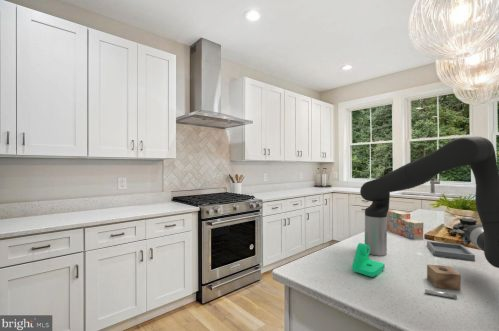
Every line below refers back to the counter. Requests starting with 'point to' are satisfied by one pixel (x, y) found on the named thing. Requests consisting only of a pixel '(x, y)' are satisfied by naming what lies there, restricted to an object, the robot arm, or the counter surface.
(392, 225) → the stack of blocks
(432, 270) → the block
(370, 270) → the camera mount
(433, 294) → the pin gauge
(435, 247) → the tray
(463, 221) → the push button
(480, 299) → the counter surface
